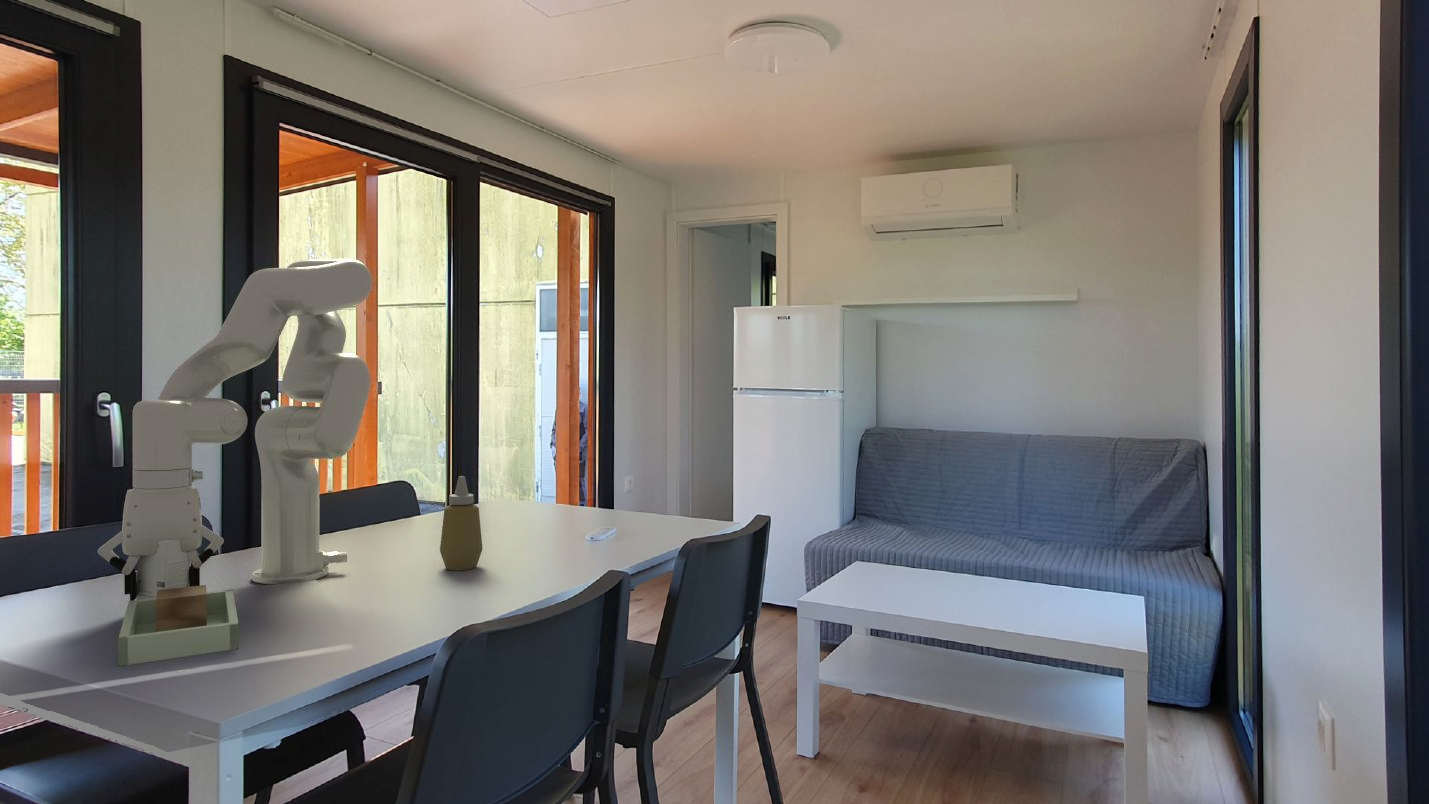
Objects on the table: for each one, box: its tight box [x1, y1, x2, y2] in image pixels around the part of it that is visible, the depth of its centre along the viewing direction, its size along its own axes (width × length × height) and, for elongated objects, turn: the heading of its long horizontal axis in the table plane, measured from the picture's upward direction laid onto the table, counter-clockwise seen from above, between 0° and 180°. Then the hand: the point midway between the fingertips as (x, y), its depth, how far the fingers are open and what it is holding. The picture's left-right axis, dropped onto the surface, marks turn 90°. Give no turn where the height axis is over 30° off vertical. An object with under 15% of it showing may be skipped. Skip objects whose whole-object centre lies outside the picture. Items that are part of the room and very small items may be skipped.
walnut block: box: [156, 584, 207, 632], centre depth 117 cm, size 6×6×5 cm
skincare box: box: [135, 540, 191, 600], centre depth 123 cm, size 6×4×12 cm
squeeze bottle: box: [439, 475, 483, 571], centre depth 157 cm, size 8×8×18 cm
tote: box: [117, 589, 240, 667], centre depth 112 cm, size 13×20×4 cm, turn 33°
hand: (163, 594), depth 123 cm, fingers closed on skincare box, 6 cm apart
